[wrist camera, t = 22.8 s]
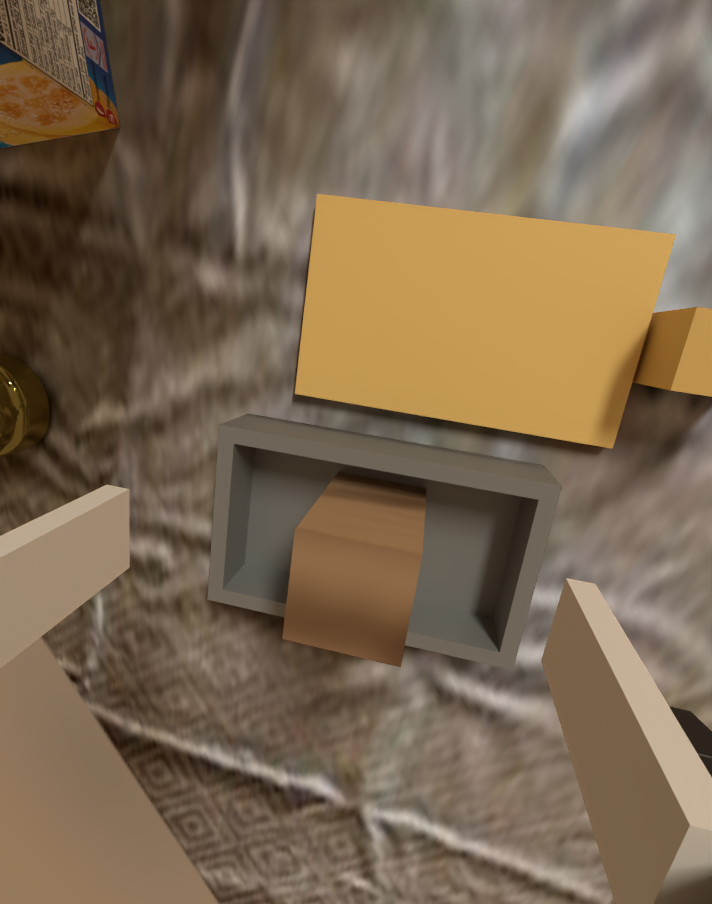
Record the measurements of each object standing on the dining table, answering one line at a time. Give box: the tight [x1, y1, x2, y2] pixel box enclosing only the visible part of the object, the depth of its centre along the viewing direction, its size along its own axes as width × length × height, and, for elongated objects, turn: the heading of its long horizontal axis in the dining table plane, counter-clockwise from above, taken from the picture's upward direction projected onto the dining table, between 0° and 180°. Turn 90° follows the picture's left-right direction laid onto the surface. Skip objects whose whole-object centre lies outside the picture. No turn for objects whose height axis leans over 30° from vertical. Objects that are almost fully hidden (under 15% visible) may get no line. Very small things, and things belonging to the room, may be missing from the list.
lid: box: [295, 194, 712, 449], centre depth 26 cm, size 12×25×5 cm, turn 82°
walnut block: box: [282, 472, 427, 667], centre depth 27 cm, size 6×6×10 cm
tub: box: [207, 414, 562, 670], centre depth 30 cm, size 12×20×4 cm, turn 82°
